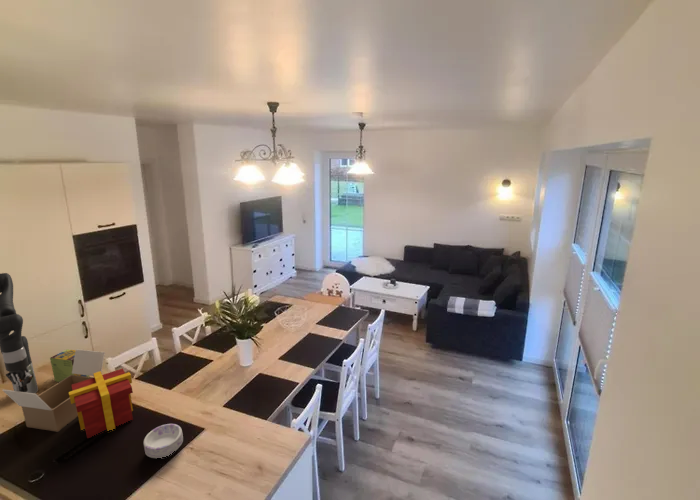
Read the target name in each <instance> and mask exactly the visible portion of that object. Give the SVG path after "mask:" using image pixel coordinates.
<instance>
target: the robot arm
mask: <svg viewBox="0 0 700 500" xmlns="http://www.w3.org/2000/svg"><path fill="white" fill-rule="evenodd" d="M13 282H14V281H13V278H12V276H11V275H10V274H9V273H7V272H5V273H4V272H2V273H0V354H1V355H2V359H3V363H4V367H5V371H6V372H8V373H5V376H6V377H7V379H8V380H9V381H10V382H11V385H12V388H13V391H20V392H27V393H35V394H37V392H38V391H39V387H38V383H37V379H36V373H35V370H34V366H33V360H32V358H31V353H30V349H29V341H28V339H27V337H26V336H24V335H22V331H23V324H24V318H23V317H22V316H21V315H20V314H18V313H17V310H16V308H15V306H14V283H13ZM11 332H12V333H11Z"/></svg>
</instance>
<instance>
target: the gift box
mask: <svg viewBox="0 0 700 500" xmlns="http://www.w3.org/2000/svg"><path fill="white" fill-rule="evenodd" d="M93 374H94V376H93V377H94V378H91V379H88V380H85V381H82V382H78V383H75V384H72V385H71V386H72V390H73V391H70V392H69V397H70V401H71V404H73V403H75V404H76V409H77V414H78V417H77V418H78V423H79V427H80V431H81V430H83V429H85V430H83V431H85V433H86V438H87V439H89V438H92V436H93V437H95V436H97V435H99V434H98V433H100V432H102V431H104V430H106V429H107V431H109V430H112V431H114V430H113V429H115V430H116V428H117V427H120V426H122V425H125V424H126V422H127V423H129V422H128V421H130V420H132V421H134V417H133V412H134V409H133V402H132V396H131V394H133V393H134V392H133V386H132V385H131V384H132V383H133V381H132V374H131V373H130V371H129V372H125V370H124V368H120V369H117V370H113V371H110V372H108V373H104V374H103V373H101V371H99V372H96V373H93ZM130 422H131V421H130ZM124 423H125V424H124ZM121 424H122V425H121ZM119 425H120V426H119ZM116 426H117V427H116ZM107 431H106V432H107ZM102 433H103V432H102ZM96 434H97V435H96ZM100 434H101V433H100ZM94 435H95V436H94Z"/></svg>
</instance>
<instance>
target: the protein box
mask: <svg viewBox="0 0 700 500" xmlns="http://www.w3.org/2000/svg"><path fill="white" fill-rule="evenodd" d="M75 351H76V349H64V350H63V351H60V352H59V353H57V354H55V355H52V356H50V357H49V360H50V364H51V369H52V375H53V379H54V382H57V383H59V382H60V381H62V380H64V379H65V378H67V377H69V376H70V375H77V376H85V377H90V376H89V375H81V374H72V369H73V363H74V357H75Z"/></svg>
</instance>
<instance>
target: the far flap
mask: <svg viewBox="0 0 700 500" xmlns="http://www.w3.org/2000/svg"><path fill="white" fill-rule="evenodd" d="M75 350H76V351H75V357H74V363H73V369H72V374H81V375H89V377H94V374H93V373H96V372H99V371H101V373H102V372H103V366H104V360H105V354H106V353H105V351H96V350H95V351H94V350H88V349H86V350H85V349H80V348H79V349H75ZM102 374H103V373H102Z"/></svg>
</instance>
